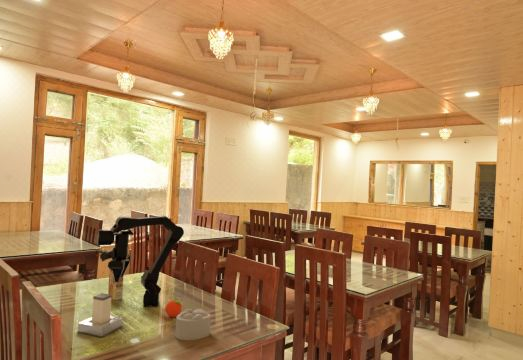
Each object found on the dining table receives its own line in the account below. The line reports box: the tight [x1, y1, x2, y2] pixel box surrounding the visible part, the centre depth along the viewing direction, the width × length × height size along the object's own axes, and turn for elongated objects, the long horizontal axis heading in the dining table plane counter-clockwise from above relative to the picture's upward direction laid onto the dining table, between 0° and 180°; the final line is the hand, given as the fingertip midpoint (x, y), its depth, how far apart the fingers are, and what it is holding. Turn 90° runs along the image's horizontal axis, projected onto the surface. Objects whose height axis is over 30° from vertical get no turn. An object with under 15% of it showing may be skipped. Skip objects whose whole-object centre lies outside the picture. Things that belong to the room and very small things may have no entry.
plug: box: [91, 292, 112, 325], centre depth 136 cm, size 4×4×12 cm
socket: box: [77, 315, 123, 338], centre depth 136 cm, size 11×11×4 cm
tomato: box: [165, 299, 184, 318], centre depth 153 cm, size 8×7×7 cm
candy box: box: [107, 268, 125, 301], centre depth 174 cm, size 9×4×15 cm, turn 44°
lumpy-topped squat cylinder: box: [174, 308, 212, 341], centre depth 136 cm, size 10×13×9 cm
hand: (119, 279), depth 159 cm, fingers open, 9 cm apart
